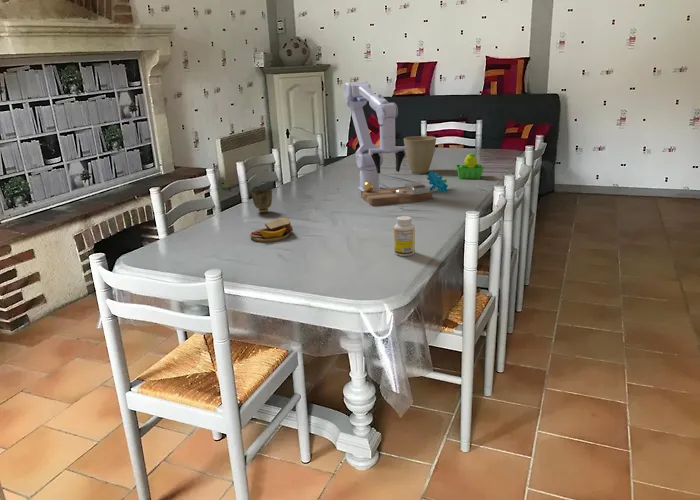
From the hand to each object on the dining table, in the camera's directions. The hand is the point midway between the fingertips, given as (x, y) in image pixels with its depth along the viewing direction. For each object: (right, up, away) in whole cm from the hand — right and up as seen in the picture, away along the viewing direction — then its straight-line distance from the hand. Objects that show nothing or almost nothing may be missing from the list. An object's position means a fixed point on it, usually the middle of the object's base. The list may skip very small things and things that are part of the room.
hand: (388, 172), depth 215 cm
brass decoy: (-7, -5, +2) cm, 9 cm away
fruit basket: (+38, +2, +32) cm, 49 cm away
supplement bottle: (0, -31, -60) cm, 67 cm away
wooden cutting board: (+3, -10, +1) cm, 11 cm away
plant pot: (+18, +6, +47) cm, 51 cm away
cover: (+11, -7, 0) cm, 13 cm away
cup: (-46, -16, -11) cm, 50 cm away
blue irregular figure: (+21, -6, +10) cm, 24 cm away
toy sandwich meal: (-39, -26, -39) cm, 61 cm away
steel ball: (+5, -8, +1) cm, 9 cm away
